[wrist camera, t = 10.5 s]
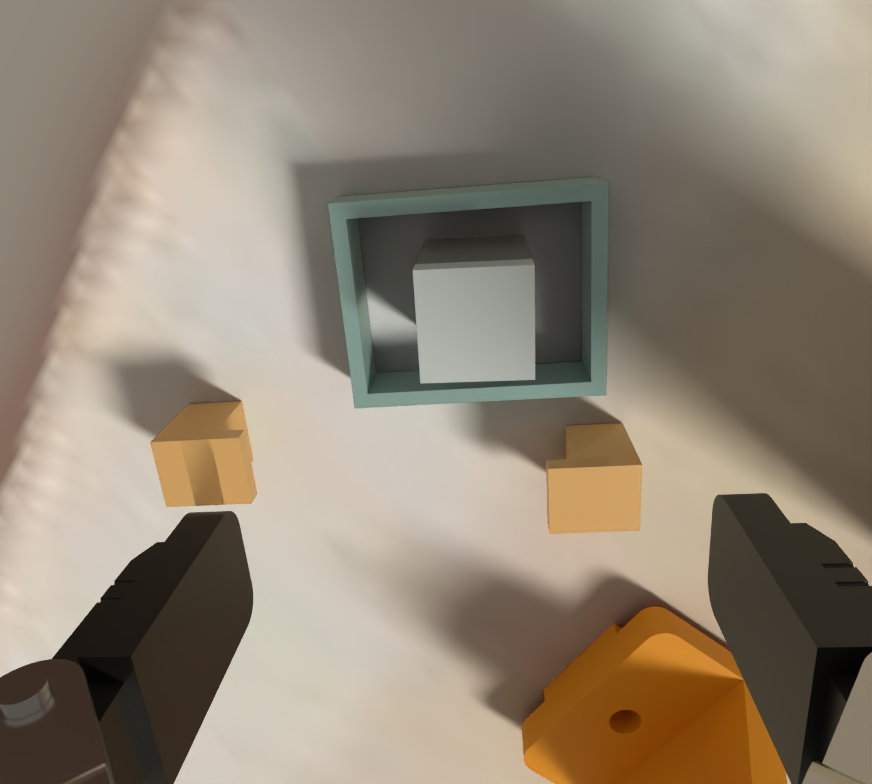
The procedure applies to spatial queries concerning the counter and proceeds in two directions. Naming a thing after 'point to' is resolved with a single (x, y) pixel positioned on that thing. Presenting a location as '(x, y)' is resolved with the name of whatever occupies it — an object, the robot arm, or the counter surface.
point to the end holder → (347, 209)
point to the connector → (475, 310)
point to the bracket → (651, 713)
